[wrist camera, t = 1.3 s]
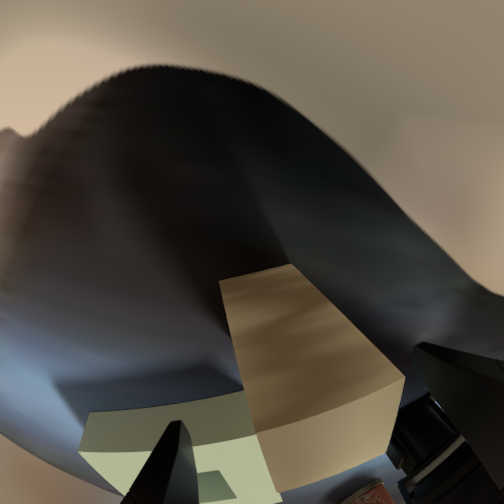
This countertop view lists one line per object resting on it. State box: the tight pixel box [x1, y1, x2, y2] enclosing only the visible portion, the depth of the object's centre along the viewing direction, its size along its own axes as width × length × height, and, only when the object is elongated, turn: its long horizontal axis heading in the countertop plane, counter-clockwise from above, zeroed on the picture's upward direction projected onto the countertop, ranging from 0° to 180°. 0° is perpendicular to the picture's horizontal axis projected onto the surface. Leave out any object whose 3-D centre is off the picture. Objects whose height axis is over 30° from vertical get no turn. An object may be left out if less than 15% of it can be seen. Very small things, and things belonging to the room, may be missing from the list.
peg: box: [219, 264, 405, 493], centre depth 11 cm, size 4×4×10 cm
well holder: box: [78, 391, 282, 504], centre depth 16 cm, size 12×12×4 cm
